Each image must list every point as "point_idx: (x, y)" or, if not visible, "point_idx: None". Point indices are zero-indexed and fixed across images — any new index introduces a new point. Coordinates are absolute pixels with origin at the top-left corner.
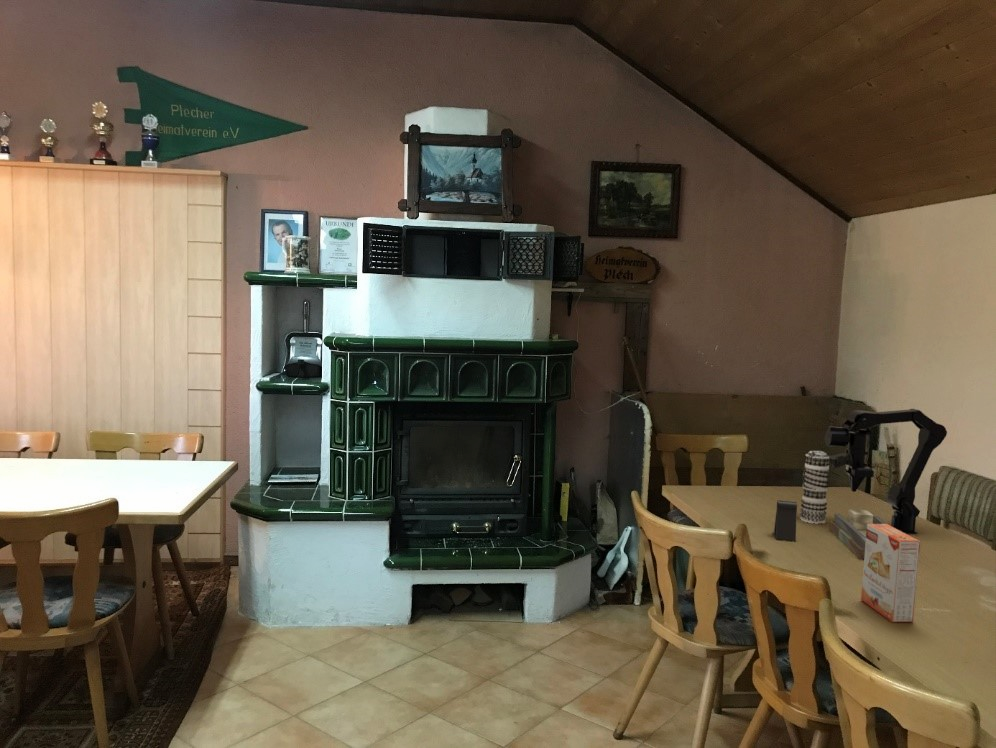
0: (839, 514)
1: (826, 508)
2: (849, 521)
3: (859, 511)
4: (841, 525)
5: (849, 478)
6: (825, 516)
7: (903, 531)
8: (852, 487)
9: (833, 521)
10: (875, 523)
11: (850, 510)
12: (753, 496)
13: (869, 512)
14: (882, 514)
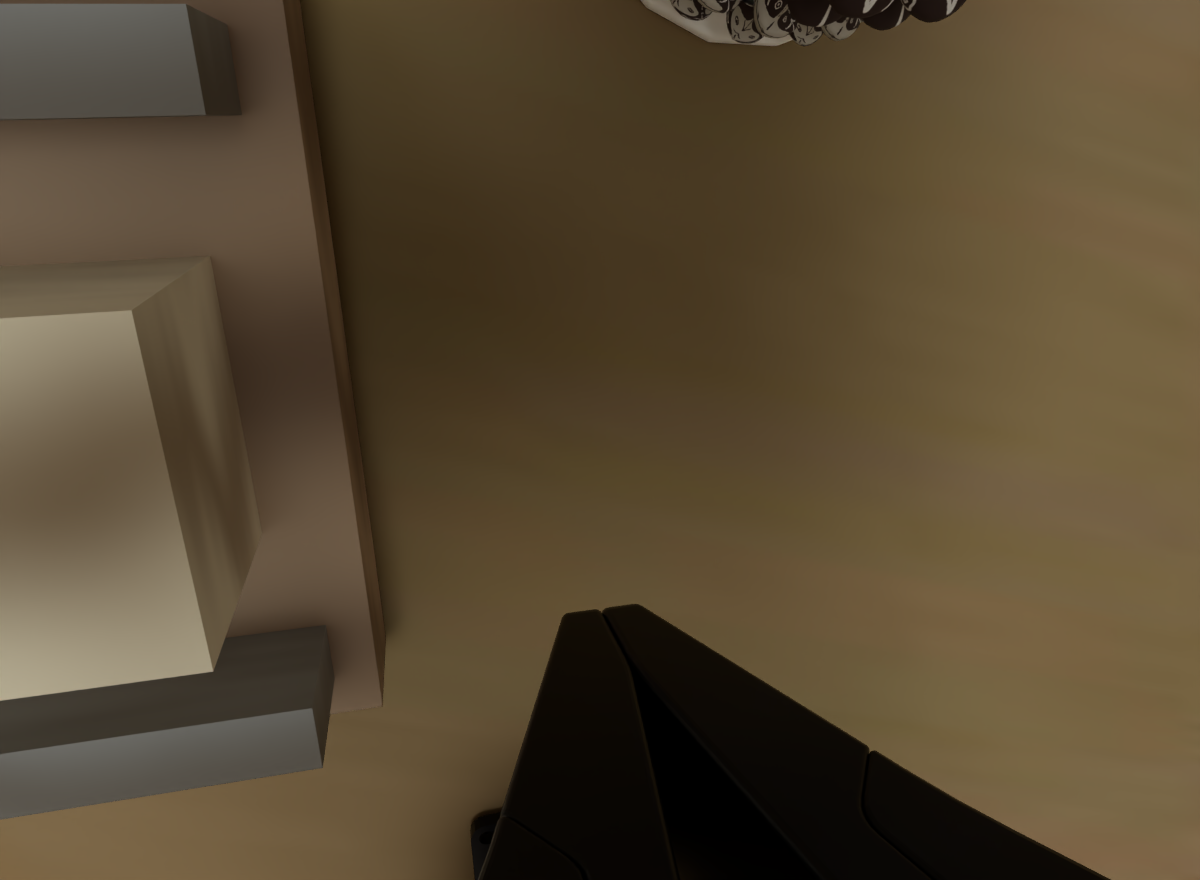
0: (116, 93)
1: (797, 20)
2: (70, 272)
3: (22, 516)
4: None
5: (926, 840)
6: (734, 26)
7: (475, 876)
8: (544, 690)
9: (249, 18)
10: None
11: (13, 331)
12: None
13: (45, 693)
14: (1104, 772)
